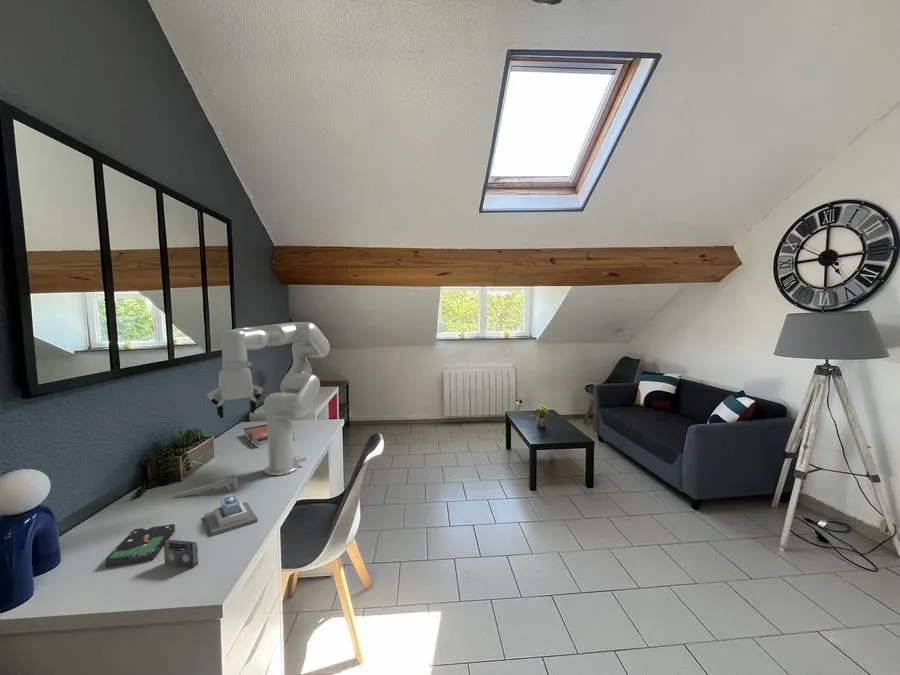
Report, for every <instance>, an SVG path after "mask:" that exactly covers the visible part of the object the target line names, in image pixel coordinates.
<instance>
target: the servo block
mask: <svg viewBox="0 0 900 675" xmlns="http://www.w3.org/2000/svg"><path fill="white" fill-rule="evenodd" d="M239 501H240V500H239V499H238V497H237V495H236V494H233V493H231V494H227V495H222V496H221V498H220V506H221V512H222V516H223V517H226V516H229V515H233V514H236V513H240V505H239Z"/></svg>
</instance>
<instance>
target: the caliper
mask: <svg viewBox="0 0 900 675" xmlns="http://www.w3.org/2000/svg"><path fill="white" fill-rule="evenodd" d="M231 484H233V488H234V490H235V491H237V490H238V487H239V485H238V479H237V477H236V475H235V476H234V473H231V475H230V474H228V475H227V477H225V478H223V479H220V480H216V481H214V482H213V483H210V484H206V485H203V486H202V485H201V486H199V487H195V488H191V489H188V490H185V491H181V492H180V491H179V492H178V493H177V492H176V493H175V494H174V495H173V496H172V497H171V499H174V498H176V499H177V498H178V497H179V498H183V497H187V496H191V495H194V494H199V493H201V492H204V491H208V490H212V489H215V490H218V489H222V488H224V487H226V488H227V490H228V491H229V492H232V491H233V488H232V485H231ZM231 490H232V491H231Z"/></svg>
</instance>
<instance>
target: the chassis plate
mask: <svg viewBox="0 0 900 675" xmlns="http://www.w3.org/2000/svg"><path fill="white" fill-rule="evenodd" d="M239 505H240V513H236V514H233V515H229V516H226V517H223V516H222V512H221V505H220V506H217V507H214V508H213V511H211V512H207V513H204V514H203V515H204V519H205V522H206V521H207V522H206V524H208V525H207V527H208V530H209V529H210V530H209V532H210V535H211V536H212V535H214V536H216V535H215V534H217V535H219V534H218V533H220V534H222V533H221V532H223V533H225V532H224V531H226V532H228V531H227V530H230V531H232V530H231V529H233V530H236V529H239V528H242V527H241V526H243V527H246V526H248V524H249V525H251V524H255V523H258V522H259V521H258V517H257V515H256V514H255V512H254V511H253V510H252V508H251V506H250V505H249V503H248V502H242V500H239ZM245 525H246V526H245ZM238 527H239V528H238ZM235 528H236V529H235Z"/></svg>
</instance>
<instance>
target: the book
mask: <svg viewBox="0 0 900 675" xmlns="http://www.w3.org/2000/svg"><path fill="white" fill-rule="evenodd" d="M243 430H244V436H245V435H246V436H247V437H248V438H249V440H248V442H249V441H253V442H254V443H255V444H256V445H258V446H263V445H267V444H268V428H267V424H263V425H262V424H261V425H257V426H251V427H245V428H243ZM293 439H294V440H295V432H294V431H293Z"/></svg>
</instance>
